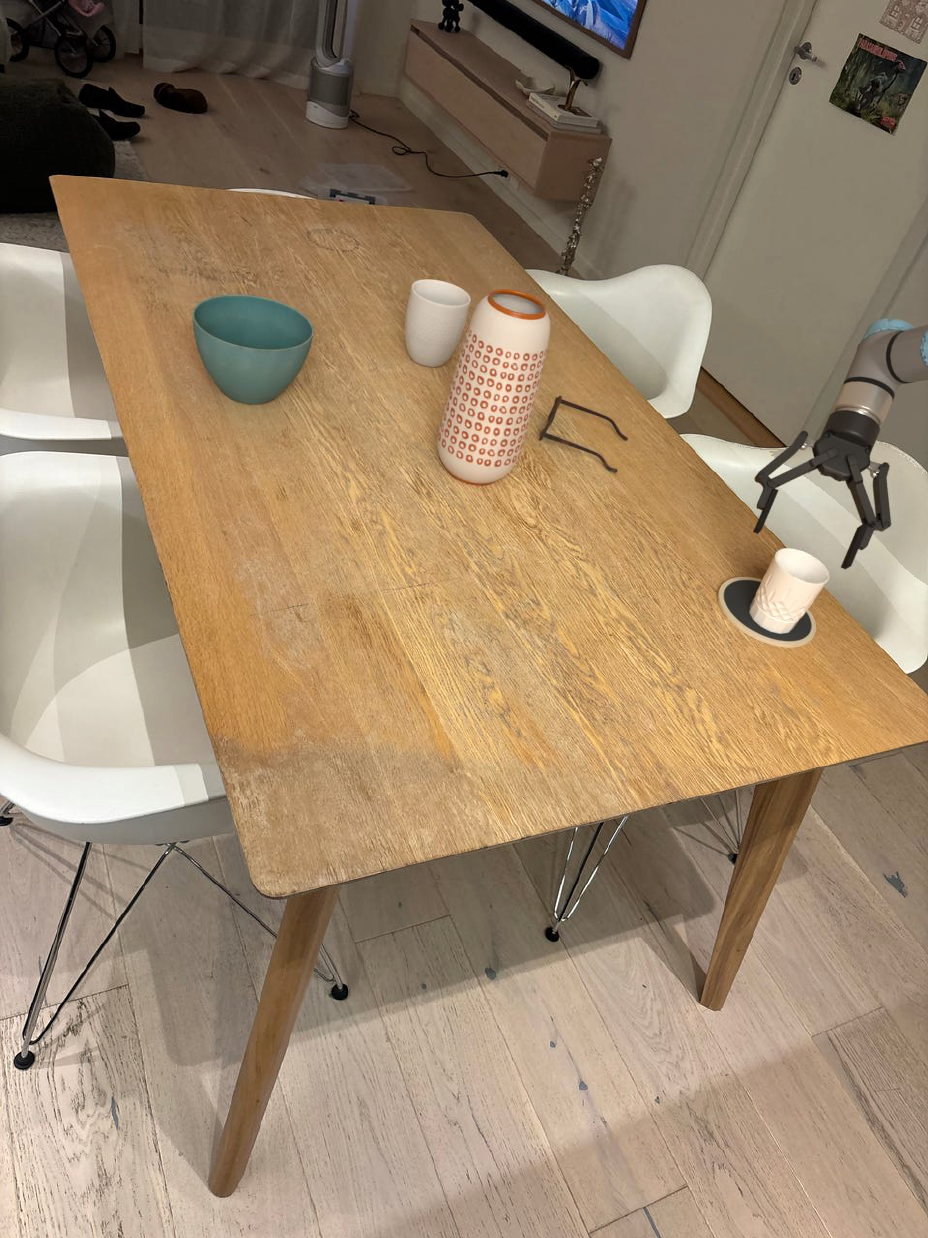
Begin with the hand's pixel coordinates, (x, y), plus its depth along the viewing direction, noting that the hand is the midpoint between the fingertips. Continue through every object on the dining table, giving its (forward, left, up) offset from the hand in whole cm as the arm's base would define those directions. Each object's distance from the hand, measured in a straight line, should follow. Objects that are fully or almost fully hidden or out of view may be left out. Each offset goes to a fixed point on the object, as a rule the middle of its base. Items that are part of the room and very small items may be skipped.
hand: (801, 549), depth 135 cm
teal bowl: (+79, +43, -9) cm, 90 cm away
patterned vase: (+46, +23, -9) cm, 52 cm away
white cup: (-3, +8, -8) cm, 12 cm away
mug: (+79, +4, -9) cm, 79 cm away
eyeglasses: (+44, -3, -9) cm, 45 cm away
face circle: (-2, +6, -8) cm, 11 cm away
